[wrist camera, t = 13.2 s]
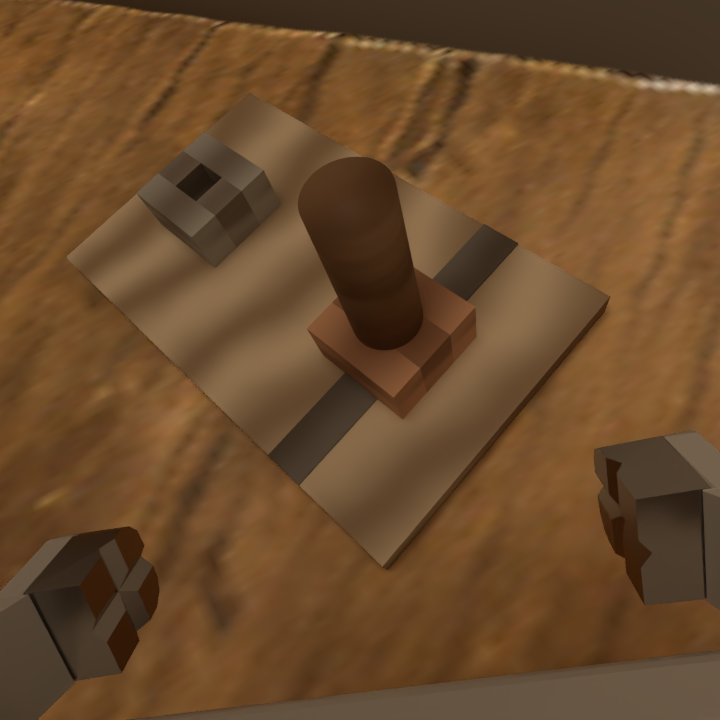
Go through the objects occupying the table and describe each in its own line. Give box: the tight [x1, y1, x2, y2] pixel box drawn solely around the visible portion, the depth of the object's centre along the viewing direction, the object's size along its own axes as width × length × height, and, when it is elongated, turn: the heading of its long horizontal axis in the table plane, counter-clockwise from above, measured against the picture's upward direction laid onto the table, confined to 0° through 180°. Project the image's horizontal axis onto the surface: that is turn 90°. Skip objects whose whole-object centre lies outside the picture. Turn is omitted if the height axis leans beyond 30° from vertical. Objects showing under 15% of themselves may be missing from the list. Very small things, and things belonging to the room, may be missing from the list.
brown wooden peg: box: [298, 157, 423, 350], centre depth 25 cm, size 4×4×12 cm
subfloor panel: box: [66, 93, 610, 569], centre depth 33 cm, size 30×18×5 cm, turn 47°
